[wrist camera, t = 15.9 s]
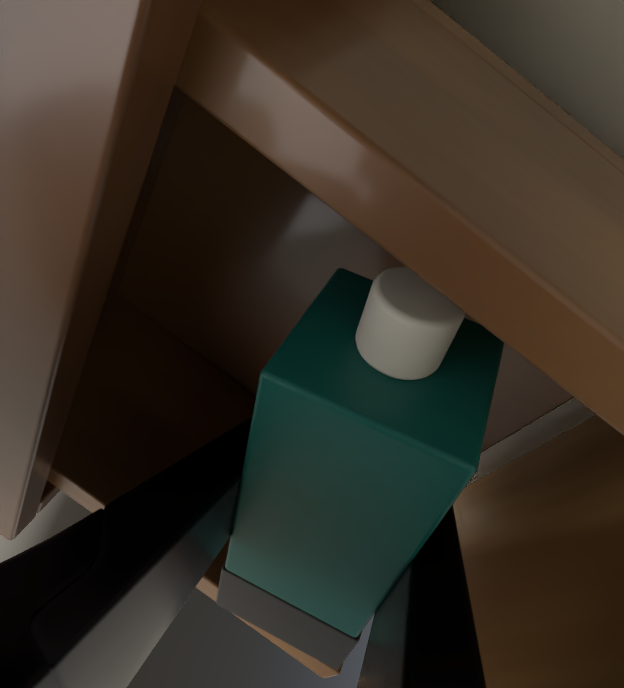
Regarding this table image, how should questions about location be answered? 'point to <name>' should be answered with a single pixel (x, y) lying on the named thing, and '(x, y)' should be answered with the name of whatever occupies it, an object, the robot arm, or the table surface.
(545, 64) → the table surface
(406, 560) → the teal square bottle
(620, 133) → the table surface
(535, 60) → the table surface
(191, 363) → the drawer
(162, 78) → the cabinet
